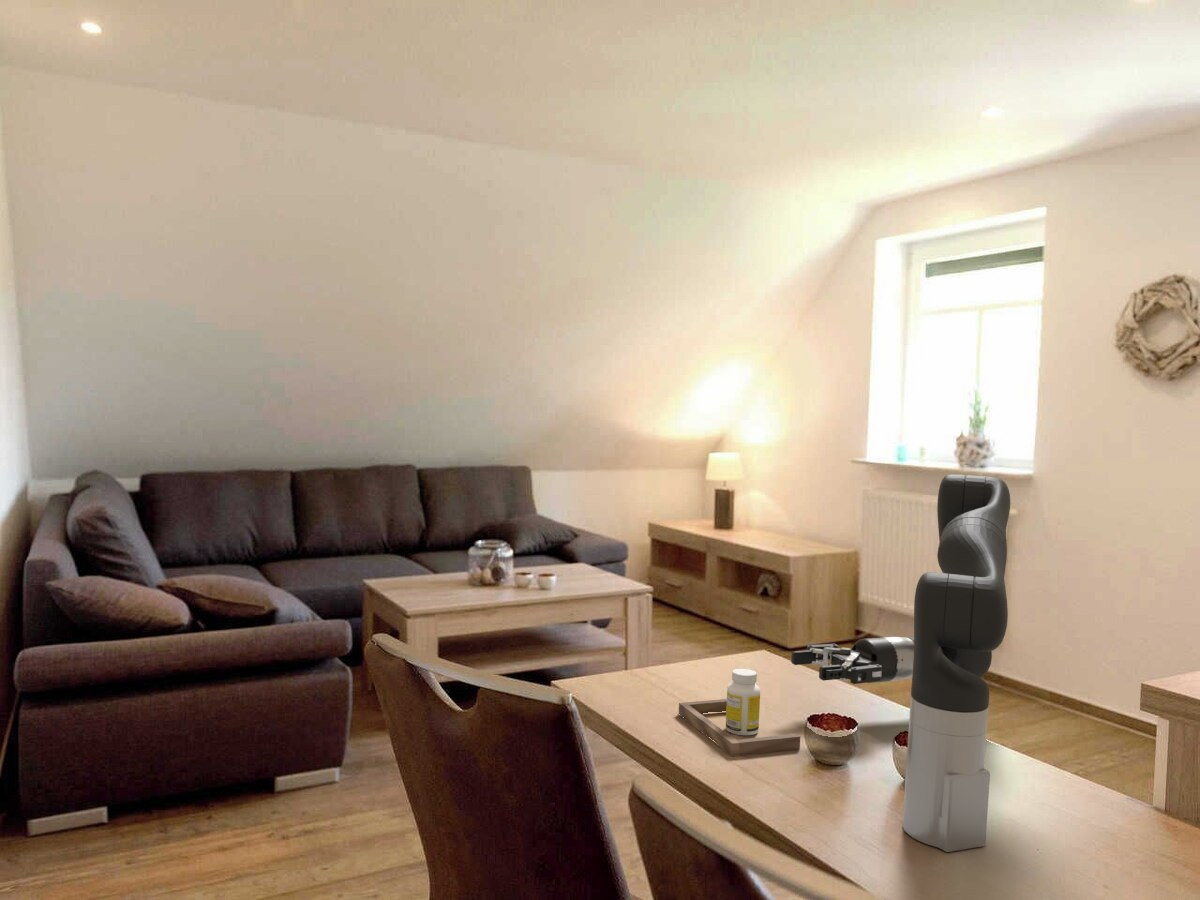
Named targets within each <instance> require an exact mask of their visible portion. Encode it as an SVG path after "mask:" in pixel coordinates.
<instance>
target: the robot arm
mask: <svg viewBox="0 0 1200 900" xmlns="http://www.w3.org/2000/svg"><path fill="white" fill-rule="evenodd" d="M937 495H938V496H937V506H936V507H937V508H936V510H937V515H936V516H937V529H938V539H939V543H938V546H937V547H938V548H937V555H936V556H937V562H938V566H939V569H940V571H941V572H936V571H935V572H931V571H929V572H924V573H923V574H922V575H921V576H920V577H919V579H918V581H917V584H916V588H915V593H914V594H915V595H914V605H913V636H904V637H903V636H902V637H901V636H885V637H883V636H882V637H871V638H870V637H869V638H861V639H859V640H857V641H856V642H855V643H854V644H853V646H852V648H850V647H839V645H838V644H836V643H827V644H825V643H824V644H822V643H821V644H808V645H806V650H798V651H796V650H795V651H792V652H791V659H790V662H791V664H792V665H794V666H799V665H802V666H803V665H821V666H820V667H819V669H818V670H819V671H818V672H819V673H818V679H819V680H821V681H834V680H841V681H843V682H846V681H847V682H848V681H849V682H850V684H853V685H860V684H866V683H867V684H874V683H884V682H885V683H886V682H894V681H895V682H896V681H903V680H906V679H911V688H910V703H909V704H910V705H909V718H908V734H907V735H908V736H907V746H906V747H907V748H906V749H907V750H906V762H905V763H906V767H905V768H906V769H905V781H904V798H903V813H902V814H903V815H902V817H903V818H902V829H903V830H904V832H905V833H907V834H908V836H910V837H911V838H913V839H915V840H916V841H918V842H921V843H923V844H926V845H928V846H932V847H935V848H939V849H941V850H943V852H945V853H949V852H955V851H962V850H968V849H973V848H980V847H985V846H986V841H987V840H986V838H987V824H988V813H989V812H988V811H989V809H988V808H989V795H990V794H989V793H990V781H991V773H990V771H989V770H988V769H986V768H985V763H986V762H985V759H986V746H987V734H988V733H987V732H988V720H989V717H988V716H989V705H990V686H989V685H988V683H987V682H986V681H985V680H984V679H983V677H984V676H985V675H987V673H988V671H989V669H990V667H991V665H992V659H993V655H992V654H993V653H992V651H994V650H996V649H998V648H999V646H1000V645H1001V643H1003V641H1004V638H1005V636H1006V632H1007V628H1008V619H1009V613H1008V611H1009V610H1008V609H1009V608H1008V599H1007V591H1006V583H1005V582H1006V581H1005V577H1006V576H1005V575H1006V567H1007V560H1008V557H1007V556H1008V544H1007V541H1008V540H1007V526H1008V522H1009V517H1010V512H1011V494H1010V489H1009V487H1008V485H1007V483H1006V482H1005V481H1004V480H1003V479H1001V478H998V477H994V476H985V475H972V474H956V473H955V474H947V475H945V476H944V477H943V478H941V481H940V484H939V489H938V494H937ZM838 647H839V648H838ZM829 660H830V663H829V662H828V661H829Z"/></svg>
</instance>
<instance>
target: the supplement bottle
mask: <svg viewBox="0 0 1200 900" xmlns="http://www.w3.org/2000/svg"><path fill="white" fill-rule="evenodd" d="M757 674H758V673H757V672H756V671H755V670H754V669H750V668H749V669H748V668H735V669H733V670H732V672H731V680H732V682H729V684H728V685H727V687H726V688H727V690H726V699H727V705H726V713H725V730H726V731H727V732H729V733H730V732H731V733H730V734H733V735H737V736H746V737H747V736H753V735H756V734H758V732H759V730H760V729H759V727H760V710H761V709H760V705H761V689H760V687H759V686H758V685H757V684H756V682H757V680H758V679H757V678H758V677H757V676H758V675H757Z"/></svg>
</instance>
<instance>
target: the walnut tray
mask: <svg viewBox="0 0 1200 900" xmlns="http://www.w3.org/2000/svg"><path fill="white" fill-rule="evenodd" d="M726 705H727V698H721V699H713V700H712V699H710V700H699V701H698V700H697V701H688V702H687V701H686V702H678V715H679V714H680V715H681V716H682V717H684V718H683V719H684V720H685V719H686V720H687V721H686V720H685V721H686V722H687V723H689V724H690V723H691V724H692V725H691V724H690V725H691V726H693V727H694V728H695V727H696V728H697V730H698V731H699V730H700V731H701V732H700V731H699V732H700V733H702V732H703V733H704V734H705V735H707V736H708V737H710V738H711V739H712V740H714V741H715V742H716V743H717V744H718V745H719V746H720V747H719V746H718V745H717V744H716V743H715V744H716V745H717V746H718V747H719V748H720V749H722V750H723V749H724V750H725V752H726V753H727V754H728V755H729V756H731V757H738V756H745V755H746V756H747V755H755V754H757V755H758V754H765V753H774V752H775V753H776V752H784V751H785V752H786V751H793V750H794V751H795V750H800V749H801V736H800V735H799V734H797V733H790V734H781V735H780V734H779V735H773V736H772V735H771V736H770V735H769V736H762V737H761V736H760V737H751V738H742V739H741V738H740V739H735V738H734V737H732V736H731V735H730V734H728V733H727V732H725V731H724V730H723V729H721V728H720V727H719V726H718V725H716V724H715V723H714V722H713V721H711V720H709V719H708V718H707V717H706V716H704V715H702V714H703V713H708V712H722V711H726ZM680 715H679V716H680ZM681 716H680V717H681ZM682 717H681V718H682ZM696 728H695V729H696ZM703 733H702V734H703ZM704 734H703V735H704ZM705 735H704V736H705ZM707 736H706V737H707ZM708 737H707V738H708ZM712 740H711V741H712ZM724 750H723V751H724Z"/></svg>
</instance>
